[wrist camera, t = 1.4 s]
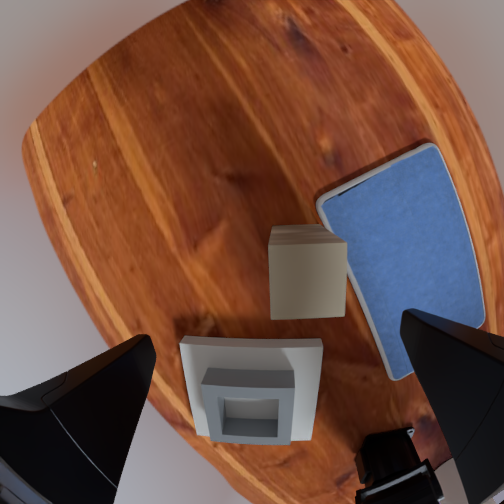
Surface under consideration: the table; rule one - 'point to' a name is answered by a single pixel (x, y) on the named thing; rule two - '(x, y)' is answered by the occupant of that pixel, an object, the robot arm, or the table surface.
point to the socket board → (252, 388)
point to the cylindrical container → (452, 484)
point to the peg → (306, 272)
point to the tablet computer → (406, 248)
